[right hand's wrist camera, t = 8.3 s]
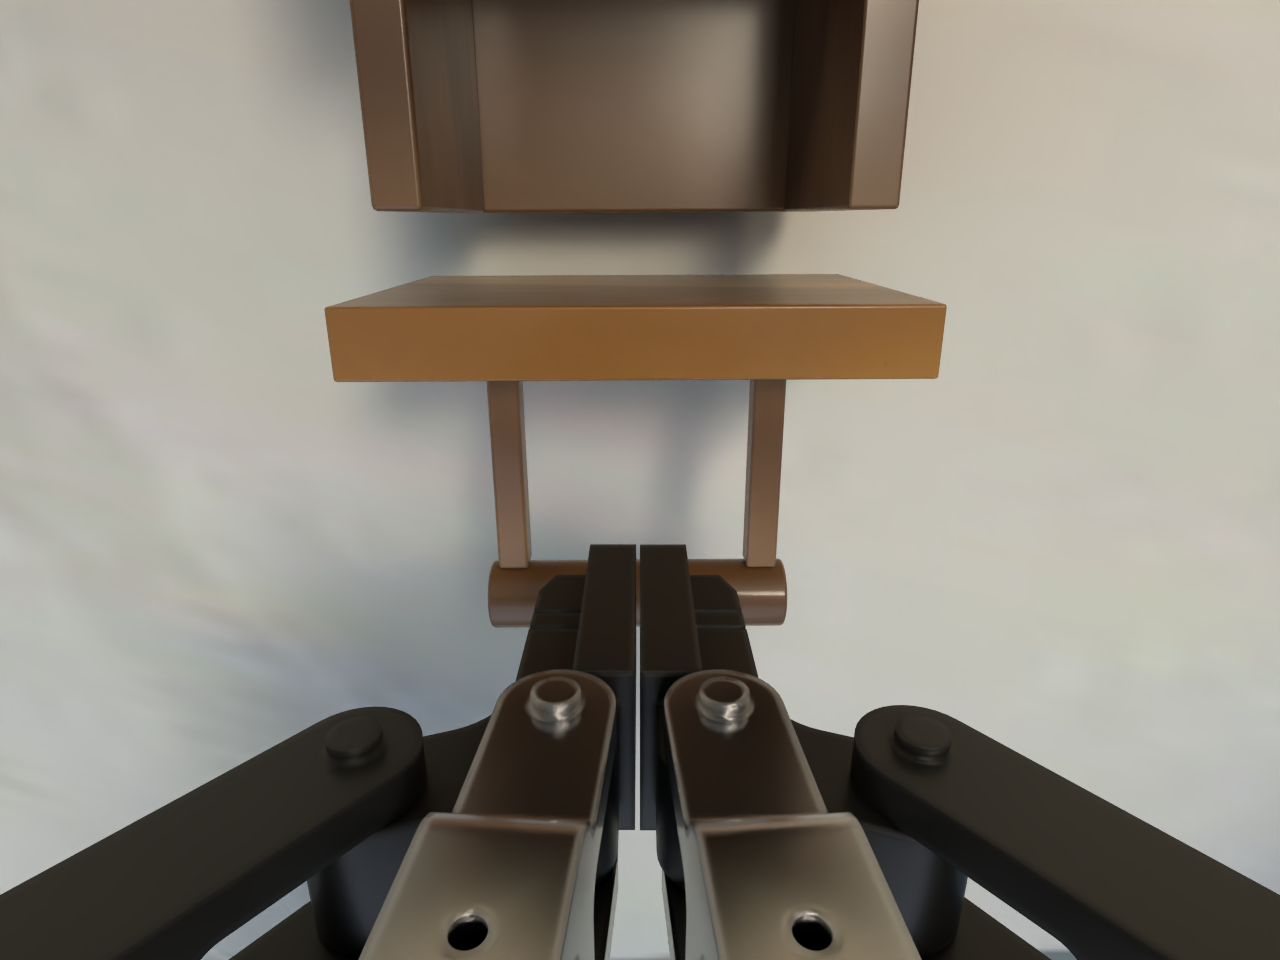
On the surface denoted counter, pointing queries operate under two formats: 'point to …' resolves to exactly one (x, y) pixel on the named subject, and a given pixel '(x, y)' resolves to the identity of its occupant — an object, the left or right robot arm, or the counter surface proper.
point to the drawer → (635, 182)
